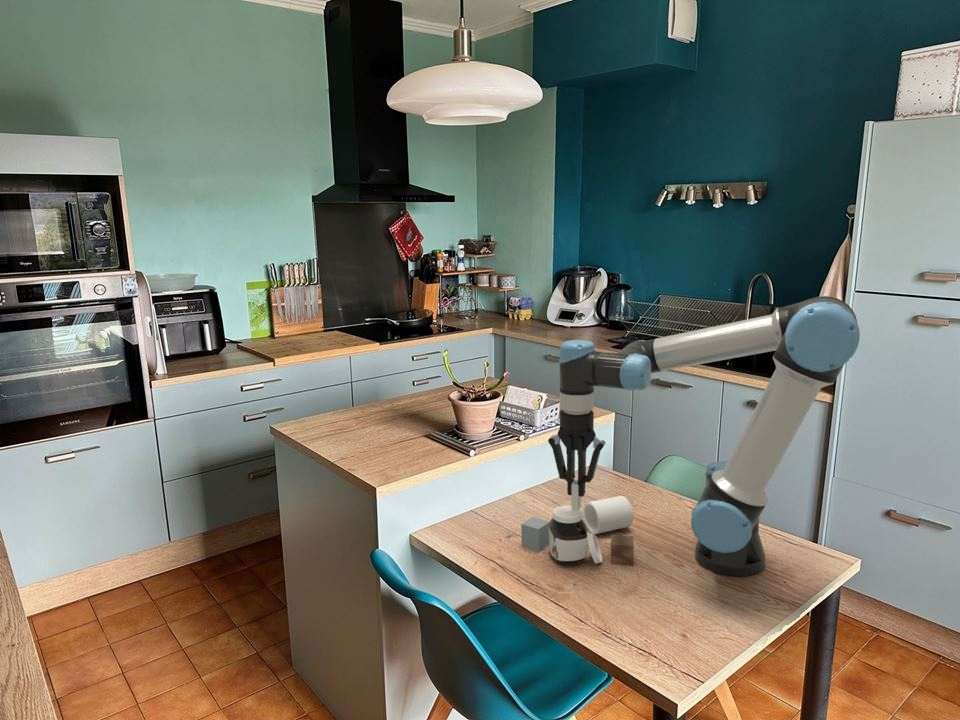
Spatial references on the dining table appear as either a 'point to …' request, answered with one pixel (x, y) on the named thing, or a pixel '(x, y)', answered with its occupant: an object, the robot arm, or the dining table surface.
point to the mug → (608, 514)
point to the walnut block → (622, 550)
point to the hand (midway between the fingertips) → (576, 508)
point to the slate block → (535, 534)
